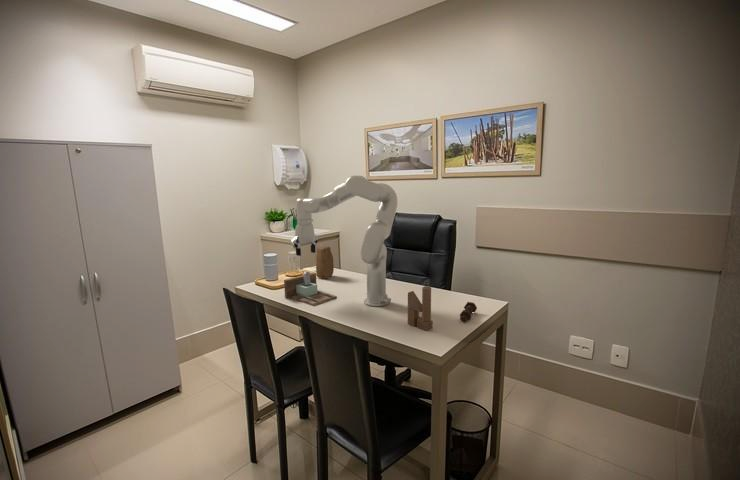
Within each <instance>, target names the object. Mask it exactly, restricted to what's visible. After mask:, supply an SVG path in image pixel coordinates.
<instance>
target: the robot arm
mask: <svg viewBox="0 0 740 480" xmlns="http://www.w3.org/2000/svg"><path fill="white" fill-rule="evenodd" d="M355 197H360V198H363V199H365V200H368V201H371V202H373V203H379V202H380V204H379V207H378V210H377V212H376V217H375V220H374V222H372V223H371V224H369V225H368V227H367V228H366V231H365V234H364V238H363V241H362V245H361V250H360V258H361V260H362V261H363V262H364V263H365V264H366V298H365V299H364V300H363V303H364V304H365V305H366V306H368V307H384V306H386V305H389V304H390V303H391V301H392V298H390V297H389V296H388V294H387V291H386V289H387V288H386V285H387V283H386V282H387V279H386V278H387V277H386V276H387V273H386V272H387V271H386V270H387V269H386V268H387V255H388V250H387V247H386V245H385V240H386V239H388V238H389V237H390V236H391V231H392V227H393V223H394V220H395V216H396V213H397V212H396V211H397V208H398V196H397V193H396V191H395V190H394V188H393V187H392V186H390V185H389V184H387V183H385V182H384V183H382V182H381V183H380V182H379V183H376V182H373V181H370V180H368V179H367V178H366V177H365V176H363V175H351V176H350V177H348V178H347V180H346V181H345V182H343V183H340V184H338V185H336V186H335V187H334V190H333V191H331V192H330V193H328V194H326V195H323V196H322V197H314V198H306V197H305V198H297V199H296V203H295V204H296V225H295V230H294V238H292V239H291V241H290V242H291V244H292V246H293V247H294V249H295V253H296V254H295V255H296V256H297V257H300V256H301V255H302V250H301V246H302V245H305V244H310V253H313V254H315V253H316V246H317V243H318V240H319V235H317V234H315V229H314V225H313V221H314V219H313V218H312V214H319V213H322V212H327V211H328V210H330V209H333V208H334V207H335V208H336V207H337V206H338V205H340V204H343V203H345V202H346V201H349V200H351V199H352V198H355Z"/></svg>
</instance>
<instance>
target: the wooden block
mask: <svg viewBox="0 0 740 480" xmlns="http://www.w3.org/2000/svg"><path fill="white" fill-rule="evenodd" d="M421 293H422V294H421V297H422V298H421V299H422V300H421V301H420V299H419V297H418V296H417V294H416V293H415V291H414V290H412V291H408V292H407V325H409V324H410V325H409V326H411V327H415V326H416V327H417V328H418V329H421V330H423V329H424V331H426V330H427V332H428V330H429V331H430V329H431V330H433V327H434V326H433V320H431V319H432V287H431V286H429V285H428V286H427V285H425V286H422V292H421ZM420 313H421V316H420Z"/></svg>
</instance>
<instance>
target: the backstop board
mask: <svg viewBox="0 0 740 480" xmlns="http://www.w3.org/2000/svg"><path fill="white" fill-rule="evenodd" d="M302 283H304V278H303V275H299V276H294V277H290V278H286V279H284V280H283V285H284V286H283V287H284V298H285V299H293V300H294V301H298V302H301V303H304V304H306V305H310V306H313V307H315V306H317V305H320V304H322V303H325V302H329V301H333V300H336V299H337V298H338V296H337V295H334V294H330V293H328V292H324V291H321V290H318V289H317V291H318V294H314V295H311V296H308V297H307V296H304V295H301V294H298V293H297V292H296V285H299V284H302ZM310 283H313V284H317V273H316V272H311V273H310Z"/></svg>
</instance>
